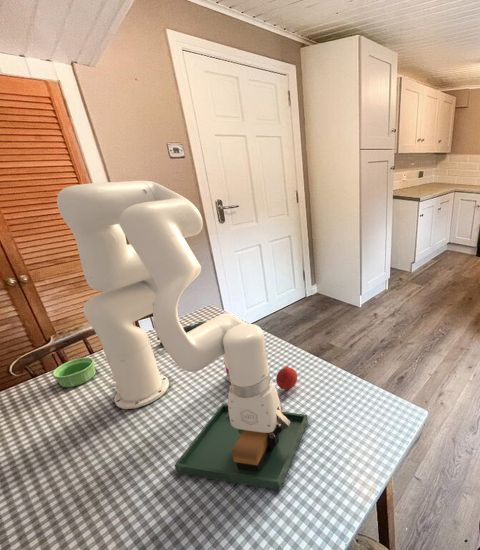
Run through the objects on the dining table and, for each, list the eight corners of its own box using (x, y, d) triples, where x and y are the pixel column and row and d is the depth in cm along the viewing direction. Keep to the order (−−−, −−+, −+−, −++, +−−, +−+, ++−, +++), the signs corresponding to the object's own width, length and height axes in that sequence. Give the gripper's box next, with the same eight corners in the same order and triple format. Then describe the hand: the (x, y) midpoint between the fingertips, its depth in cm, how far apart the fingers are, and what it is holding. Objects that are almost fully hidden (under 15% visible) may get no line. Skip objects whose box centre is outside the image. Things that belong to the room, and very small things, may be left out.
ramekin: (49, 387, 88) (43, 375, 86) (81, 367, 96) (76, 355, 94) (75, 391, 86) (70, 378, 85) (105, 370, 95) (101, 358, 93)
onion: (293, 397, 85) (290, 374, 82) (274, 394, 86) (271, 371, 83) (301, 383, 90) (299, 361, 87) (283, 380, 91) (280, 358, 88)
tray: (176, 473, 64) (174, 465, 63) (223, 410, 80) (222, 403, 79) (279, 490, 61) (278, 482, 60) (307, 421, 77) (307, 414, 76)
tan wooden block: (258, 473, 63) (255, 453, 61) (235, 470, 64) (231, 450, 62) (283, 423, 75) (281, 405, 73) (264, 420, 76) (261, 402, 74)
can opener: (214, 329, 117) (211, 316, 115) (214, 338, 111) (211, 325, 109) (161, 340, 110) (157, 326, 108) (157, 350, 105) (153, 336, 102)
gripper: (202, 389, 61) (217, 453, 68) (282, 399, 58) (290, 464, 65) (223, 365, 68) (236, 425, 74) (296, 373, 65) (302, 435, 72)
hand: (261, 443), depth 70 cm, fingers closed on tan wooden block, 5 cm apart
